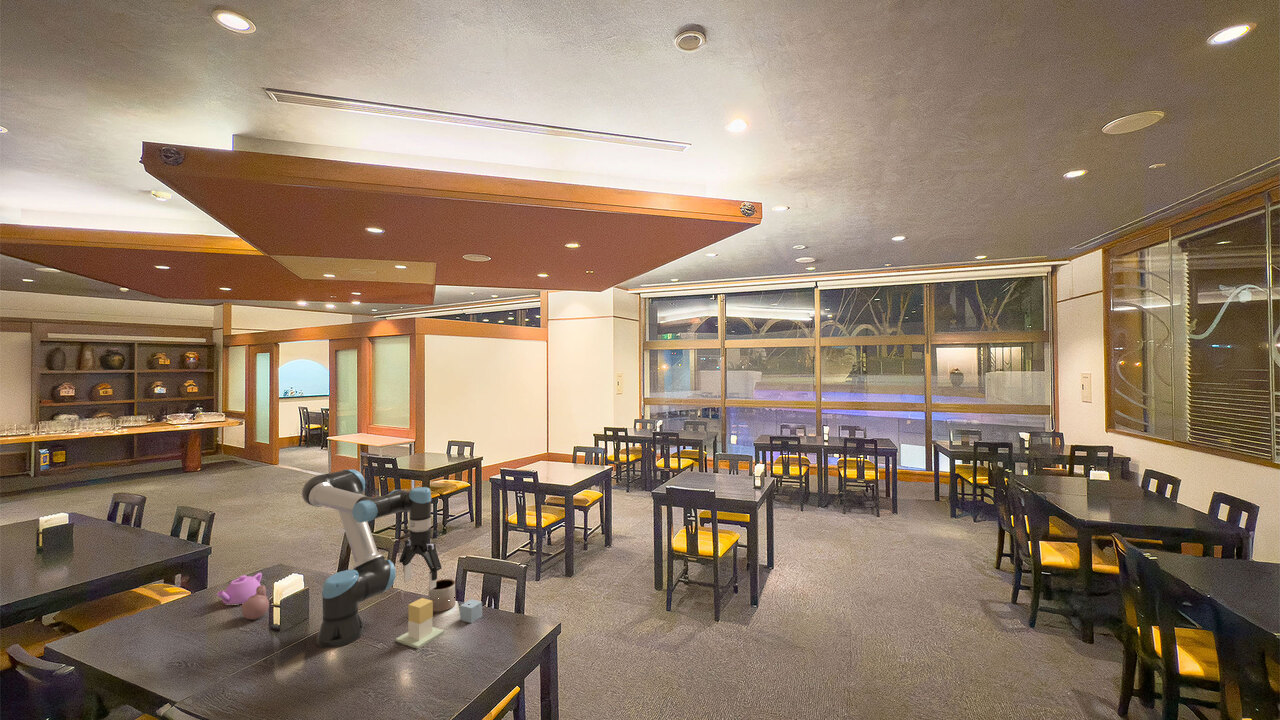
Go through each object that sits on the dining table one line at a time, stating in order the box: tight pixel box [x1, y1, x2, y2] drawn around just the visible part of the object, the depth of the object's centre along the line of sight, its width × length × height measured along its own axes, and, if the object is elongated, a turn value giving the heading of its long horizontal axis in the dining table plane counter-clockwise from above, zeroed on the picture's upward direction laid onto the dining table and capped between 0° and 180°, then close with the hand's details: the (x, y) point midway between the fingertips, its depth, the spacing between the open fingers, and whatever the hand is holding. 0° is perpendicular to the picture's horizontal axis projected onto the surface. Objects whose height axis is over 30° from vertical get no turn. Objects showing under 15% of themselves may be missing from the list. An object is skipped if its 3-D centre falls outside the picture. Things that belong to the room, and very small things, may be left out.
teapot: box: [216, 572, 263, 605], centre depth 218 cm, size 14×20×11 cm
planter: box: [427, 578, 456, 613], centre depth 210 cm, size 11×11×10 cm
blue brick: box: [459, 598, 483, 624], centre depth 200 cm, size 6×6×6 cm
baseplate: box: [395, 617, 445, 650], centre depth 186 cm, size 12×12×7 cm
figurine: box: [240, 585, 270, 620], centre depth 202 cm, size 9×11×12 cm
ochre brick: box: [408, 597, 434, 624], centre depth 186 cm, size 6×6×6 cm
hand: (419, 584), depth 186 cm, fingers open, 13 cm apart
